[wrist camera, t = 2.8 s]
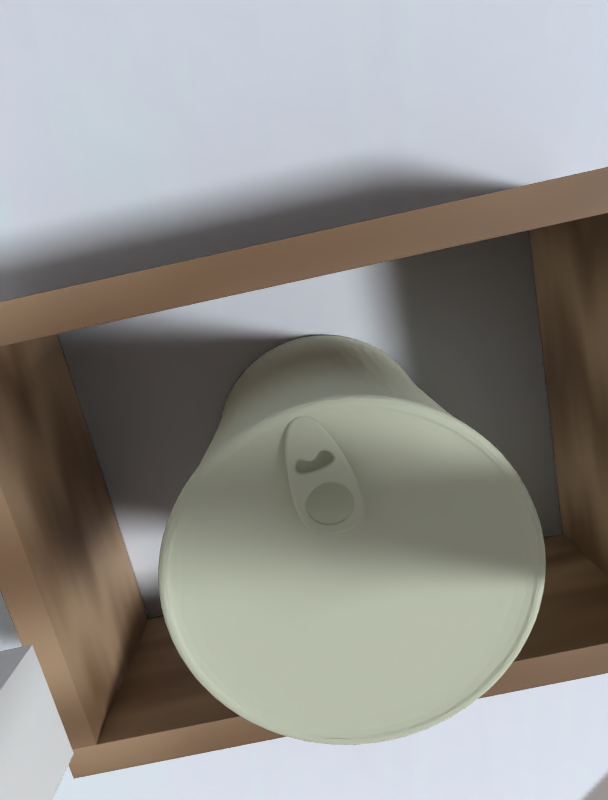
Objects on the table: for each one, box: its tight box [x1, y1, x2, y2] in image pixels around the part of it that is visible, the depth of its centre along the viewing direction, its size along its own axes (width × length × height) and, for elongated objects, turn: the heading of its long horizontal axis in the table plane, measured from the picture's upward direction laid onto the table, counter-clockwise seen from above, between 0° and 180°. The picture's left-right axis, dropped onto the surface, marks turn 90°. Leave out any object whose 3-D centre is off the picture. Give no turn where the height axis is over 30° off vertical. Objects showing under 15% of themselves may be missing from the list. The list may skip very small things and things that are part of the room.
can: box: [158, 335, 546, 745], centre depth 18 cm, size 9×9×12 cm
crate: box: [0, 167, 608, 778], centre depth 20 cm, size 16×22×7 cm
